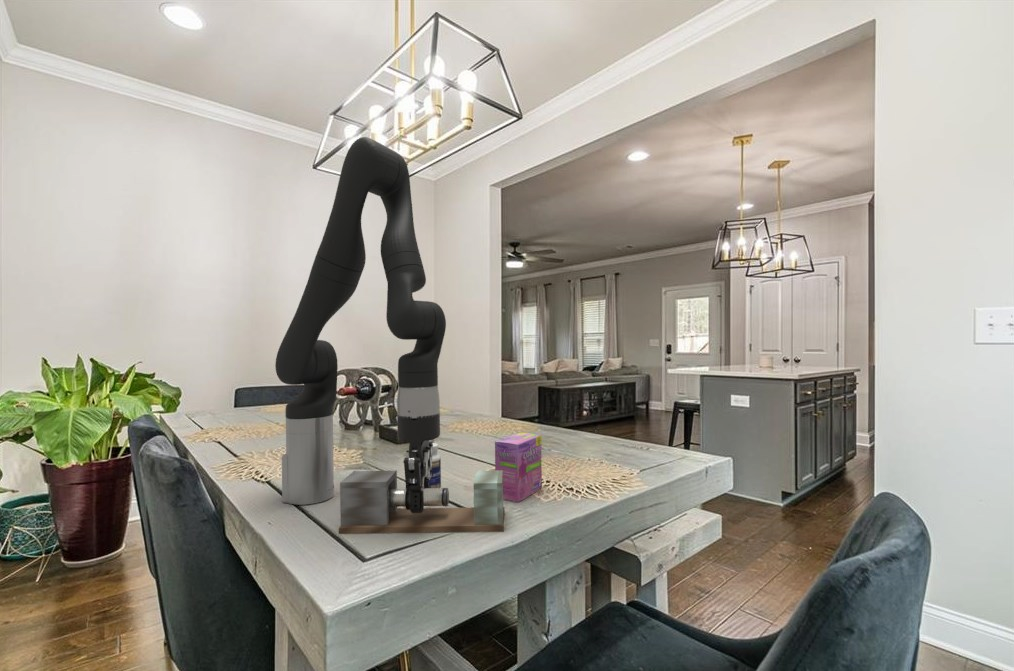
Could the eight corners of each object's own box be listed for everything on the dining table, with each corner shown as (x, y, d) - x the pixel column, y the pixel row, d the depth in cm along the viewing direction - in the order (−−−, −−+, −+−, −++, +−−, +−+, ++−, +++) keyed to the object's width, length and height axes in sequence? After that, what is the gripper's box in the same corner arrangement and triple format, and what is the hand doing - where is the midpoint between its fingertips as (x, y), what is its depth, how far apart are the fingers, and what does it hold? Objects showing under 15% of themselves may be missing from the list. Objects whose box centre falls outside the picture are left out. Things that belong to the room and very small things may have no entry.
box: (518, 503, 94) (517, 443, 94) (494, 498, 97) (493, 440, 97) (543, 488, 102) (542, 434, 103) (520, 485, 105) (519, 432, 106)
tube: (343, 514, 82) (343, 490, 82) (351, 506, 86) (351, 483, 87) (446, 512, 82) (445, 488, 82) (449, 504, 86) (449, 481, 86)
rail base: (338, 533, 80) (338, 484, 80) (356, 514, 89) (355, 469, 89) (503, 531, 79) (502, 481, 80) (504, 512, 88) (503, 467, 89)
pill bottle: (435, 495, 99) (434, 447, 99) (410, 494, 100) (409, 447, 101) (444, 487, 105) (443, 442, 105) (420, 485, 106) (419, 441, 106)
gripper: (406, 406, 92) (408, 494, 91) (387, 418, 77) (388, 522, 77) (445, 405, 92) (446, 493, 91) (432, 417, 77) (434, 521, 77)
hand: (420, 506), depth 84 cm, fingers open, 5 cm apart
